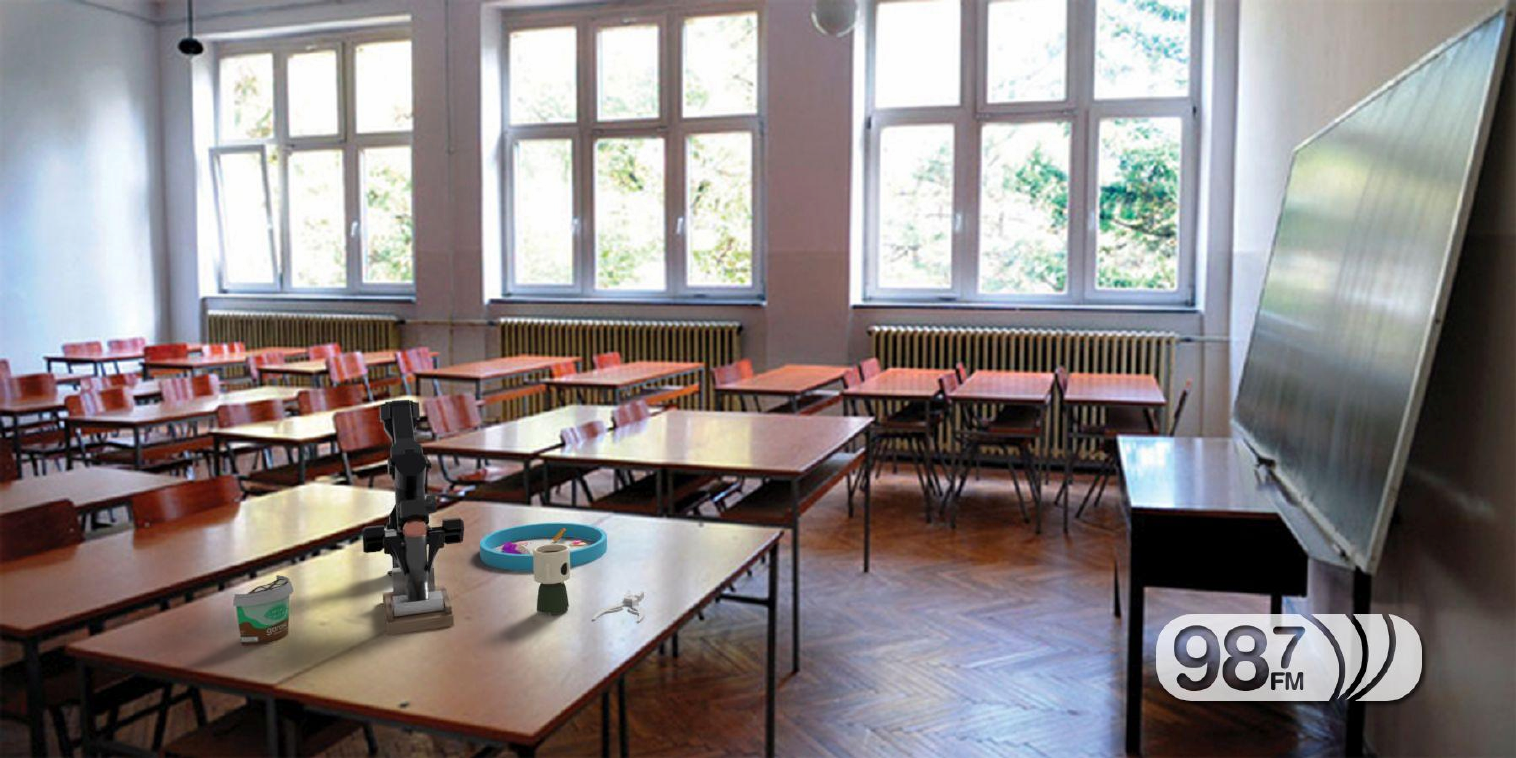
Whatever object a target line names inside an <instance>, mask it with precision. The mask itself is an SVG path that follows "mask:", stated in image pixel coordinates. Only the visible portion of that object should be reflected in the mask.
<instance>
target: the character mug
mask: <svg viewBox="0 0 1516 758" xmlns="http://www.w3.org/2000/svg"><path fill="white" fill-rule="evenodd" d="M569 551H570V546H569V545H566V544H562V543H547V544H542V545H538V546H535V547H534V548H533V549H532V555H533V564H534V571H533V579H534V580H533V581H534V582H536V583H538V584H539V586H538V590H537V591H538V592H537V599H536V611H537V612H538V613H542V614H550V615H551V616H552V615H554V614H556V615H558V614H562V613H565V612H567V611H569V608H570V605H569V604H570V603H569V597H568V591H567V586H566V584H565V581H567V580H570V578H571V567H570V553H569Z"/></svg>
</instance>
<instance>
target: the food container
mask: <svg viewBox="0 0 1516 758" xmlns="http://www.w3.org/2000/svg"><path fill="white" fill-rule="evenodd" d="M275 578H276V580H273V581H271V582H270V583H267V584H263V585H259V586H256V587H255V588H252V590H250V591H249V592H247V593H234V597H233V603H232V606H233V607H235V608H236V609H235V610H236V617H237V622H238V629H239V636H240V644H241V646H246V647H249V646H250V647H251V646H261V645H266V644H270V643H269V642H271V643H273V641H275V642H278V641H279V640H282V639H284V638H285V637H287V635H289V629H290V628H289V627H290V626H289V625H290V624H289V621H290V597H291V596H290V595H291V594H293V592H294V588H293V585H292V581H290V578H289V577H287V576H284V575H279V574H276V577H275Z"/></svg>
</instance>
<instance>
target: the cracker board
mask: <svg viewBox="0 0 1516 758" xmlns="http://www.w3.org/2000/svg"><path fill="white" fill-rule="evenodd" d="M427 565H428V563H427ZM391 570H392V575H391V576H392V591H387V592H384V591H383V592H382V605H383V613H384V619H385V628H386V629H385V630H386V634H387V635H395V634H402V633H408V632H409V633H410V632H415V631H416V632H419V631H425V630H430V629H437V628H439V629H440V628H445V627H452V626H455V624H454V623H455V622H454V621H455V618H454V617H455V616H454V612H453V609H452V608H453V607H452V604H451V600H450V598H449V595H448V591H447V589H446V587H445V585H444V584H442V585H436V583H435V581H436V580H435V566H434V564H433V565H432V568H431V572H430V573H428V588H429V592H433V591H441V592H442V596H443V603H444V610H440V611H433V612H425V613H418V614H410V615H403V616H395V617H394V611H393V596H400V595H407V586H406V575H405V576H404V574H403V573H402V571H401V569H400V568H393V567H392V568H391Z"/></svg>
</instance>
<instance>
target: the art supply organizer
mask: <svg viewBox="0 0 1516 758" xmlns="http://www.w3.org/2000/svg"><path fill="white" fill-rule="evenodd" d="M537 538H552V539H550V542H553V543H556V542H558V540H560V538H574V539H575V538H577V539H580V540H572V541H571V542H570V543H569V545H570V546H571V547H578V546H579V547H581V546H583V547H581V548H578V549H573V550H569V553H570V568H572V567H577V566H581V565H585V564H587V563H591V562H594V561H596V560H598V559H600V558H602V557H603V556H605V554H606V553H607V551H608V533H606V531H605V530H603V529H602V528H600V527H597V526H593V525H590V524H585V523H576V522H541V523H530V524H529V523H528V524H522V525H516V526H511V527H507V528H502V529H500V530H496V531H494V532H491V533H488V534H486V535H485V536H484V537H482V538H481V540H480V541H479V558H480V560H481V561H482V562H483V563H484V564H486V565H487V566H489V567H493V568H498V569H501V570H504V569H505V570H507V571H508V570H509V571H524V572H530V571H532V572H534V564H533V553H531V551H529V549H527V548H526V547H527V545H528V544H529V543H530V544H532V542H530V539H537ZM581 539H582V540H583V539H584V540H587V541H592V542H594V543H592V544H590V545H587V543H586V542H582V540H581ZM523 540H524V541H523ZM513 542H515V543H513ZM524 545H525V546H526V547H525V546H524ZM586 545H587V546H586ZM499 546H501V547H500V549H501V551H498V550H496V549H495V548H497V547H499ZM494 549H495V550H494Z"/></svg>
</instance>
